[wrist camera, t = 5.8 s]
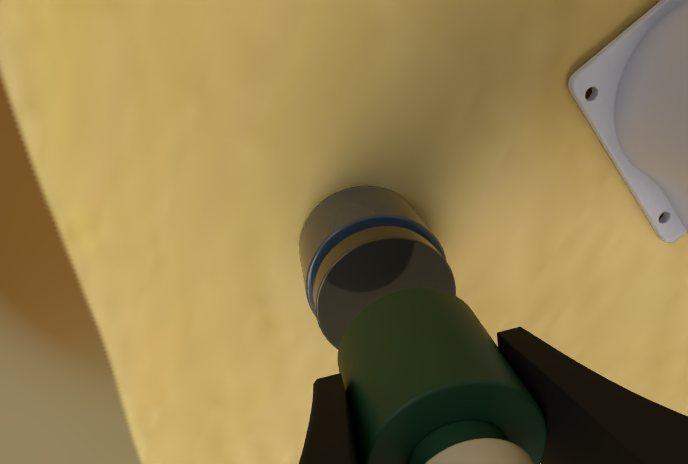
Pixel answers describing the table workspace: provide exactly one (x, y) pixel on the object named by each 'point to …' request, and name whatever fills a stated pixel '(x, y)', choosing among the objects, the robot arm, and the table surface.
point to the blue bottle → (366, 255)
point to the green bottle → (434, 386)
